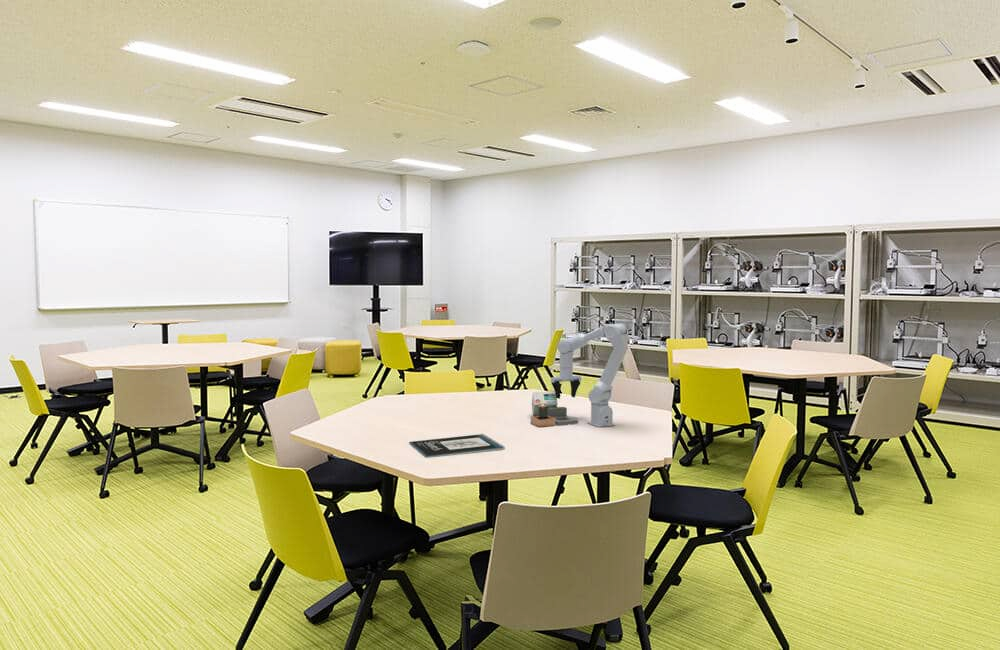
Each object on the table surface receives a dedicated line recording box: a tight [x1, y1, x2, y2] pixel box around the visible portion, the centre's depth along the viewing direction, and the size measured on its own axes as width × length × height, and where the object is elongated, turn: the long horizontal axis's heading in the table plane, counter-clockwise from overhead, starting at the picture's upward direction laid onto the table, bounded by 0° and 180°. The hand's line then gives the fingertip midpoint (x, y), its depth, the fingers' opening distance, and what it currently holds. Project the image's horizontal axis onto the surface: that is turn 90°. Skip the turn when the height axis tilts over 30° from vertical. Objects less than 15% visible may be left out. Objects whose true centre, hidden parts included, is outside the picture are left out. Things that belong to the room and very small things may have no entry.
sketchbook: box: [408, 433, 506, 459], centre depth 248 cm, size 22×30×2 cm
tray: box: [530, 415, 556, 428], centre depth 286 cm, size 8×8×3 cm
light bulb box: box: [531, 390, 558, 417], centre depth 301 cm, size 11×7×11 cm
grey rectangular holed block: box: [548, 406, 579, 426], centre depth 292 cm, size 13×10×5 cm
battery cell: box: [538, 403, 548, 420], centre depth 286 cm, size 4×4×8 cm
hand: (565, 397), depth 298 cm, fingers open, 7 cm apart
